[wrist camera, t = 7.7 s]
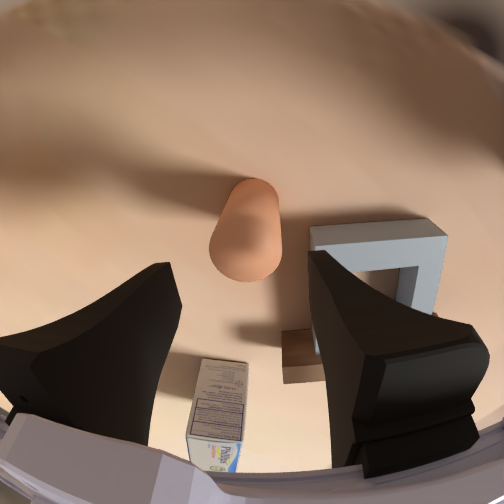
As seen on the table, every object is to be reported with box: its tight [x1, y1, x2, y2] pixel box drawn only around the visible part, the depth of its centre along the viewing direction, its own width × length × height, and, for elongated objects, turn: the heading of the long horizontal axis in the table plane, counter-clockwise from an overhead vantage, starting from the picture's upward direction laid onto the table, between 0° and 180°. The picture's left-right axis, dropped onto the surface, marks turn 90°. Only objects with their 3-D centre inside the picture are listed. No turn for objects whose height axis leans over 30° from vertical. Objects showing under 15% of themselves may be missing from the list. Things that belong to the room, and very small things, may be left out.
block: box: [309, 219, 448, 355], centre depth 20 cm, size 9×9×3 cm
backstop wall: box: [281, 313, 438, 384], centre depth 22 cm, size 14×2×4 cm, turn 97°
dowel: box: [209, 178, 282, 282], centre depth 16 cm, size 3×3×7 cm
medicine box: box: [186, 359, 249, 473], centre depth 24 cm, size 8×4×9 cm, turn 174°
